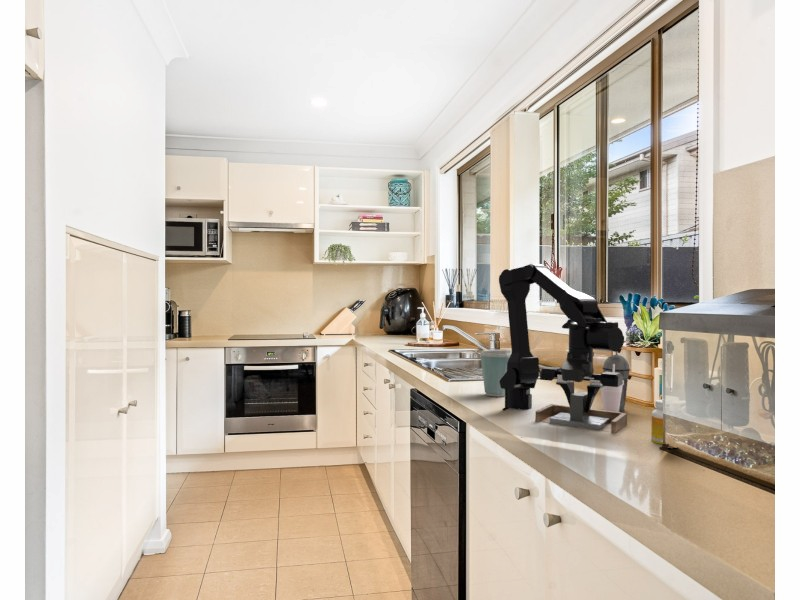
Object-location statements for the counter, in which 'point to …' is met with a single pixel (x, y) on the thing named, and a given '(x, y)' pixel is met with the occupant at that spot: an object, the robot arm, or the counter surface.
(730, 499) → the counter surface
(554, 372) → the robot arm
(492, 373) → the disposable coffee cup
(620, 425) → the walnut box
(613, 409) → the smoothie
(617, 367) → the beverage cup
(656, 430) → the supplement bottle
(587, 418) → the cover plate
